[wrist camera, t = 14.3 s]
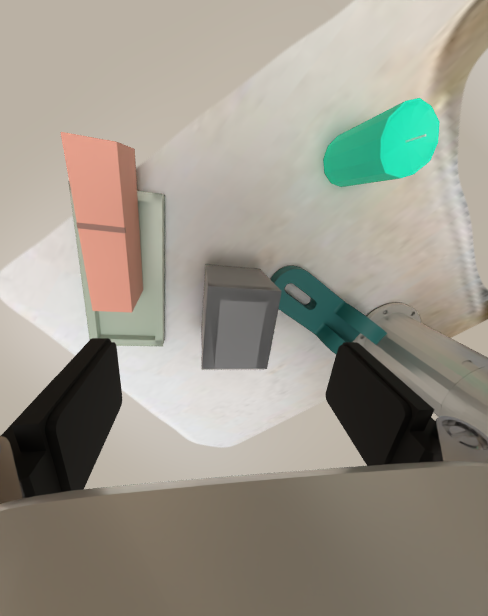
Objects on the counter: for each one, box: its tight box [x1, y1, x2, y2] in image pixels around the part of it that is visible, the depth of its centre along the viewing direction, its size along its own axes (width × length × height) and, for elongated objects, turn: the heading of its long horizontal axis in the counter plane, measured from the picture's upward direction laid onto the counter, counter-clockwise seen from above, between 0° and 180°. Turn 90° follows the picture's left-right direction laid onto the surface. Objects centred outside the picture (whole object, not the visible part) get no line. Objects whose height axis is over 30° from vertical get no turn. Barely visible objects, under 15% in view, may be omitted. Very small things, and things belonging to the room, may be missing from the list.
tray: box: [69, 182, 165, 346], centre depth 30 cm, size 9×20×2 cm, turn 173°
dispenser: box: [201, 264, 282, 370], centre depth 31 cm, size 11×8×10 cm
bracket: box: [271, 266, 387, 354], centre depth 35 cm, size 18×7×8 cm, turn 53°
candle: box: [323, 98, 439, 187], centre depth 25 cm, size 6×6×12 cm
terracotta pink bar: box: [61, 132, 143, 313], centre depth 25 cm, size 4×16×6 cm, turn 173°
